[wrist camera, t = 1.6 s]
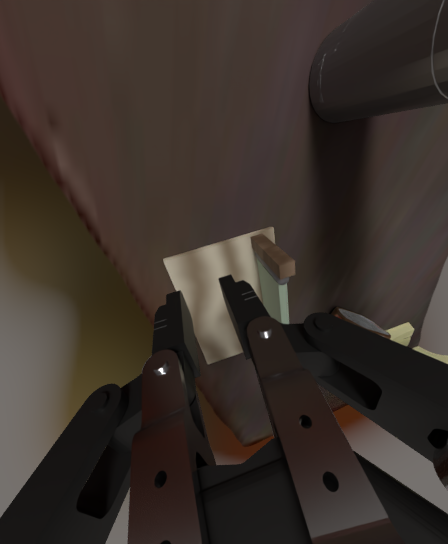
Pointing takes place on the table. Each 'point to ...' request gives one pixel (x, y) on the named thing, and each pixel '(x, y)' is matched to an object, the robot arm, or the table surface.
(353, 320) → the tin
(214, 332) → the gate frame
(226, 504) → the robot arm
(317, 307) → the table surface
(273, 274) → the gate
